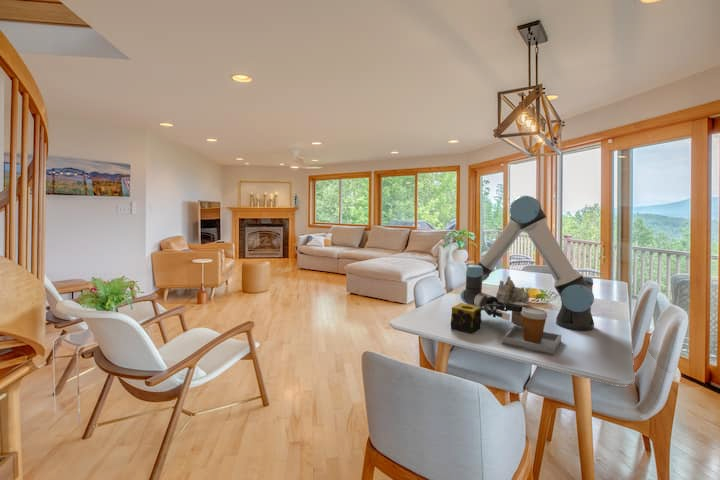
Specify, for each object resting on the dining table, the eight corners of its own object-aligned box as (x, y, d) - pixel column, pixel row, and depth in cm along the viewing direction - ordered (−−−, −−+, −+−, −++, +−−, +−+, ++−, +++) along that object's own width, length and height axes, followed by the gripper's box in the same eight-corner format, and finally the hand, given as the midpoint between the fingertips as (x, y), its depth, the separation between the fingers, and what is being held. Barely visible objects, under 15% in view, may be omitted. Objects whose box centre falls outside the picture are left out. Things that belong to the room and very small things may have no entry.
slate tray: (560, 341, 148) (561, 335, 148) (553, 355, 133) (553, 348, 133) (513, 332, 158) (514, 325, 158) (501, 343, 144) (502, 336, 144)
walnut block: (519, 320, 175) (520, 302, 174) (527, 324, 170) (529, 304, 169) (511, 321, 173) (512, 303, 172) (519, 325, 168) (520, 305, 168)
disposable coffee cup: (548, 346, 141) (550, 315, 139) (522, 343, 142) (524, 313, 141) (541, 337, 150) (543, 308, 149) (516, 335, 152) (518, 306, 151)
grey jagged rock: (489, 301, 210) (492, 275, 208) (509, 299, 218) (513, 275, 216) (511, 310, 197) (515, 282, 195) (532, 308, 204) (536, 281, 202)
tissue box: (459, 324, 168) (460, 302, 167) (481, 329, 162) (482, 306, 161) (449, 329, 160) (450, 306, 159) (472, 334, 154) (473, 311, 153)
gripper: (507, 308, 175) (544, 322, 155) (463, 313, 166) (497, 327, 146) (508, 293, 174) (545, 304, 154) (464, 296, 165) (498, 309, 145)
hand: (522, 315), depth 150 cm, fingers open, 13 cm apart
